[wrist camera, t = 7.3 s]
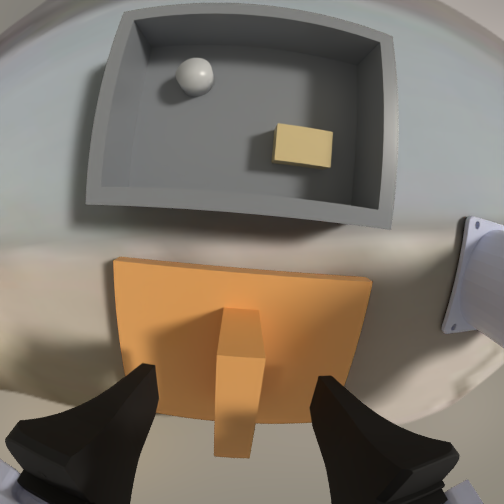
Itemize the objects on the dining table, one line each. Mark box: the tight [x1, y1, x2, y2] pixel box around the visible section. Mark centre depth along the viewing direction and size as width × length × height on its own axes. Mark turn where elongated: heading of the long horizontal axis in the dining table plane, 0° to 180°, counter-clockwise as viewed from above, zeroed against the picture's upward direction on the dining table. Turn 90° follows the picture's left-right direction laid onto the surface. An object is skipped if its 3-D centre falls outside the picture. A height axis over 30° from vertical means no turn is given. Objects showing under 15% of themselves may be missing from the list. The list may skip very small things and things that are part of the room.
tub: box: [85, 3, 398, 230], centre depth 10 cm, size 12×9×4 cm
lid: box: [113, 257, 373, 458], centre depth 12 cm, size 12×9×6 cm
